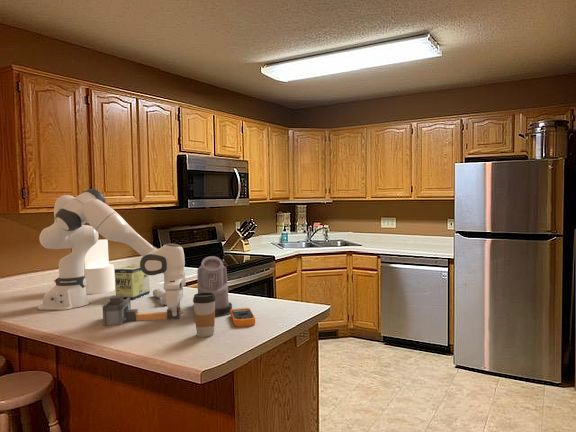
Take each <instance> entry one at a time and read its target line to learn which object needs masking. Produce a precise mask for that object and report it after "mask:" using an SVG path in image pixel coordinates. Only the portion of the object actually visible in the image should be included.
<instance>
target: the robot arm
mask: <svg viewBox="0 0 576 432" xmlns="http://www.w3.org/2000/svg"><path fill="white" fill-rule="evenodd" d="M106 201H107V200H106V198H105V196H104V195H103V193H102V192H101V191H99V190H98V189H95V188H89V189H86V190H84V191H82V192H81V193H80V194H78V195H77V196H75V197H74V196H73V195H70V194H64V195H61V196H58V198H57V199H56V200H55V203H54V208H53V216H54V222H53V224H51V225H50V226H48V227H45V228H43V229H42V230H41V232H40V234H39V243H40V244H41V246H42V247H43V248H45V249H50V250H62V249H63V250H64V249H72V251H71V252H70V253H69V254H67V255H65V256H64V257H62V258H60V260H59V262H58V277H57V278H55V279H53V281H54V282H53V283H55V285H54V286H53V287H52V288H50V289H49V290H48V291H47V292H46V293H45V294H44V295H43V298H42V303H41V304H39V305H38V306H37V310H40V311H42V310H44V311H45V310H47V311H48V310H50V311H51V310H52V311H53V310H56V311H58V310H60V311H61V310H62V311H64V310H65V311H66V310H70V309H71V310H72V309H75V308H79V307H84V306H87V305H89V304H90V301H89V298H88V294H87V293H86V288H85V286H86V278H85V275H84V260H85V256H86V254H87V252H88V251H89V249H90V248H91V247H92V246H93V245H95V244H96V243H97V241H98V240H99V234H100V236H102V237H103V238H105V239H108V241H110V242H117V243H122V244H124V245H128V246H129V247H130V248H132V249H133V250H134V251H136V252H137V253H138V254H139V255H140V256H141V259H140V260H139V265H140V268H141V270H142V272H143V273H144V274H146V275H149V276H157V275H161V274H162V275H163V282H164V283H163V291H164V292H165V295H166V304H167V305H166V307H167V309H168V308H171V310H172V316H177V307H180V308H181V301H182V300H183V298H184V286H186V284H187V283H186V271H185V264H186V261H185V259H186V257H185V253H184V248H183V247H182V246H181V245H180V244H178V243H177V244H176V243H165V244H164V245H163V246H161V247H160V248H158V247H156V246H154V245H153V244H151V243H150V242H149V241H148V240H146V238H144V237H143V236H142V235H140V234H139V233H138V232H137V231H136V230H135V229H134V228H133V227H132V226H131V225H130V224H129V223H128V222H127V221H126V220H125V219H124V218H123V217H122V216H121V214H119V213H118V212H117V211H115V209H113V208H112V206H110V205H108V204H107V202H106ZM86 223H87V225H86ZM88 224H89V225H88Z"/></svg>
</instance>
